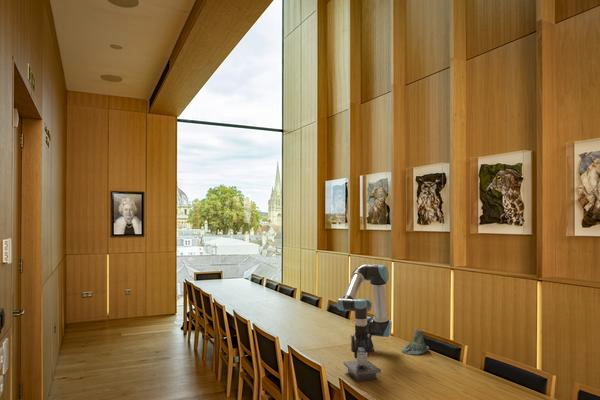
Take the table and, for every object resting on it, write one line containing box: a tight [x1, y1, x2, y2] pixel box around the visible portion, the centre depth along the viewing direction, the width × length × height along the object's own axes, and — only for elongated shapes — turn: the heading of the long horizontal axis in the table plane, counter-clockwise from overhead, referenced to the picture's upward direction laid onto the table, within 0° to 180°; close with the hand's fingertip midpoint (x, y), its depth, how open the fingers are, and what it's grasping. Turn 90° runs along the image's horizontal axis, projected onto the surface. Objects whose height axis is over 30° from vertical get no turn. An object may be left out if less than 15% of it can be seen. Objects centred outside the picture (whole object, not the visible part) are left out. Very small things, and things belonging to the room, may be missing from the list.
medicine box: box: [357, 347, 366, 366], centre depth 260 cm, size 8×4×9 cm, turn 3°
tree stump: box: [401, 328, 430, 356], centre depth 308 cm, size 18×20×18 cm
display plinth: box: [343, 360, 382, 382], centre depth 259 cm, size 20×16×6 cm
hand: (361, 362), depth 259 cm, fingers closed on medicine box, 5 cm apart
